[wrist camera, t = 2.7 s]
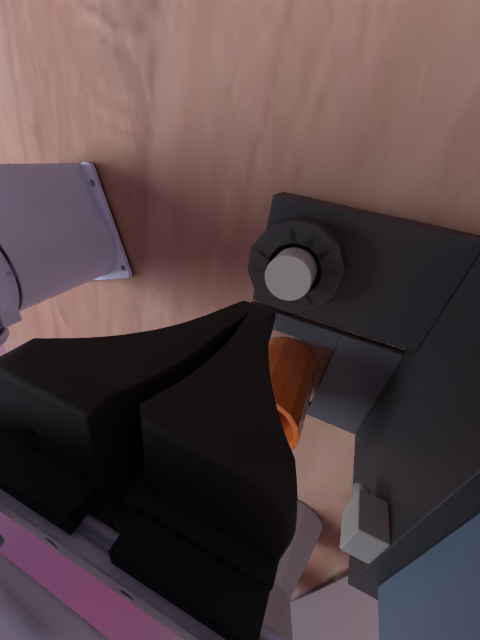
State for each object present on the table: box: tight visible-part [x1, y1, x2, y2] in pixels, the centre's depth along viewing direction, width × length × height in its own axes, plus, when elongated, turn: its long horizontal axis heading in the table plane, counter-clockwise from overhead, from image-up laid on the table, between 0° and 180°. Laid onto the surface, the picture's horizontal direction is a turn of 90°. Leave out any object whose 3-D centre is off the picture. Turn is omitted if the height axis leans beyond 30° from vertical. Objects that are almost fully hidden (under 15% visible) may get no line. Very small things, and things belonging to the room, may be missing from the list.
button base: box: [248, 192, 480, 352], centre depth 17 cm, size 11×7×4 cm, turn 82°
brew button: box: [265, 247, 317, 301], centre depth 16 cm, size 3×3×2 cm
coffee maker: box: [251, 235, 480, 640], centre depth 14 cm, size 17×17×15 cm
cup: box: [269, 338, 316, 450], centre depth 21 cm, size 5×5×7 cm
